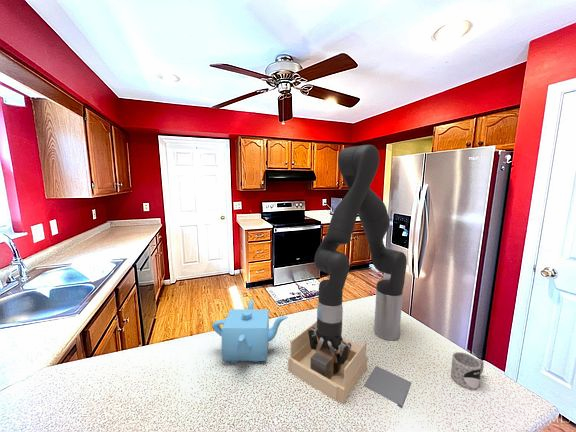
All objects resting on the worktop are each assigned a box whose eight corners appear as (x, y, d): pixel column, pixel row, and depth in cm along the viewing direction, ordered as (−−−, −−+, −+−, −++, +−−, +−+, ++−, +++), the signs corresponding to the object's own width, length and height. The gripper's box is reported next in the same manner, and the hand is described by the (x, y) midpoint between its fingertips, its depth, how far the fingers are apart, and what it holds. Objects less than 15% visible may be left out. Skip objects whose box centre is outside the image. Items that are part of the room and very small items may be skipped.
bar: (330, 355, 80) (330, 338, 79) (344, 361, 77) (344, 344, 76) (310, 376, 70) (310, 357, 70) (325, 385, 67) (325, 365, 67)
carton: (322, 340, 89) (323, 315, 88) (371, 362, 77) (372, 335, 76) (287, 372, 73) (287, 342, 72) (342, 406, 61) (344, 372, 60)
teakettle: (208, 353, 80) (207, 312, 79) (252, 330, 94) (252, 294, 92) (242, 385, 67) (242, 336, 66) (287, 353, 81) (288, 312, 79)
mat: (375, 367, 75) (375, 365, 75) (410, 383, 69) (410, 381, 69) (363, 387, 67) (363, 385, 67) (401, 407, 61) (401, 405, 61)
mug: (466, 392, 66) (469, 370, 66) (445, 374, 73) (447, 354, 72) (493, 385, 69) (495, 363, 68) (470, 368, 75) (472, 348, 75)
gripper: (357, 318, 70) (354, 372, 72) (316, 303, 79) (314, 351, 81) (346, 330, 64) (343, 387, 66) (302, 312, 73) (301, 363, 75)
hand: (327, 367), depth 73 cm, fingers closed on bar, 5 cm apart
